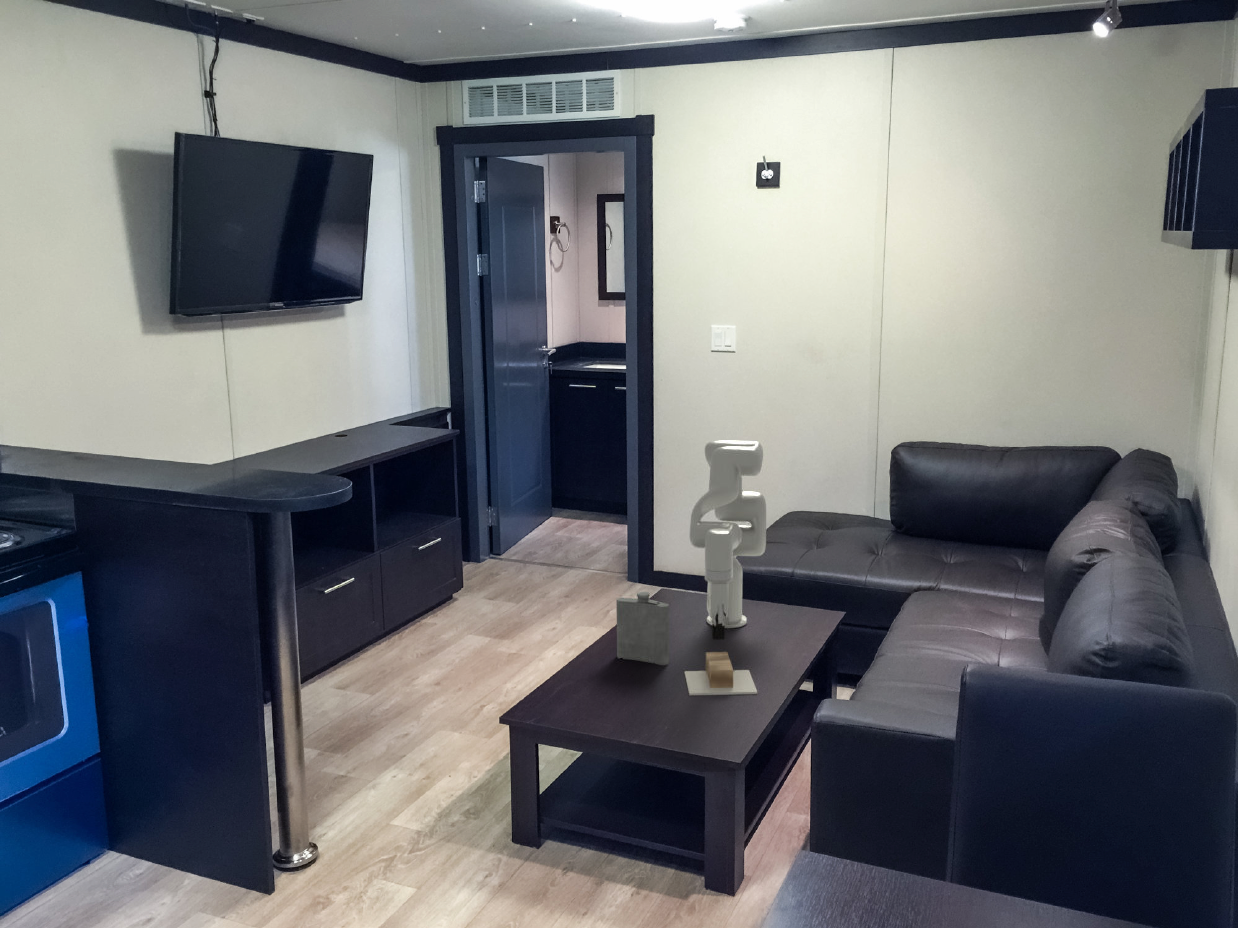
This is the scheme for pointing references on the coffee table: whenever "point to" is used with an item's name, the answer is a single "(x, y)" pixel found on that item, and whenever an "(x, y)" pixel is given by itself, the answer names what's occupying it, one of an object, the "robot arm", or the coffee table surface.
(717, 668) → the brown wooden block
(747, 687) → the mat
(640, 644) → the hip flask
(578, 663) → the coffee table surface
